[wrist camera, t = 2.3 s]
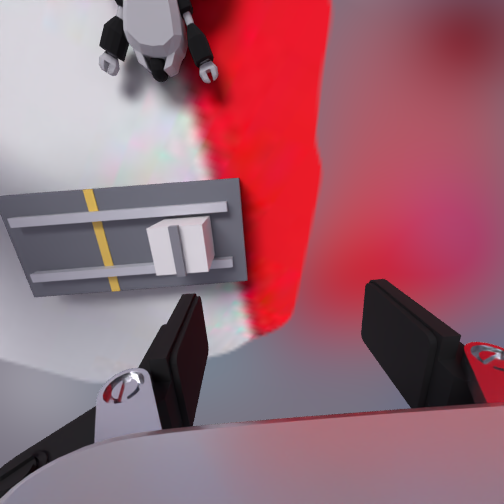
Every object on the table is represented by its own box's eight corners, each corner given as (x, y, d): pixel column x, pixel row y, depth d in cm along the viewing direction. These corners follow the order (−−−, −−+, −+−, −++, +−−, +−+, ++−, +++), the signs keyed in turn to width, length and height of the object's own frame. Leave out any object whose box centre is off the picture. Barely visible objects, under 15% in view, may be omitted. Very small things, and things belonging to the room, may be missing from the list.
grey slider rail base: (19, 194, 27) (-17, 197, 24) (239, 177, 28) (238, 178, 24) (53, 286, 31) (27, 301, 27) (247, 271, 31) (247, 284, 28)
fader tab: (164, 218, 26) (143, 228, 20) (209, 214, 26) (200, 224, 20) (172, 259, 27) (154, 278, 22) (215, 255, 27) (207, 274, 22)
